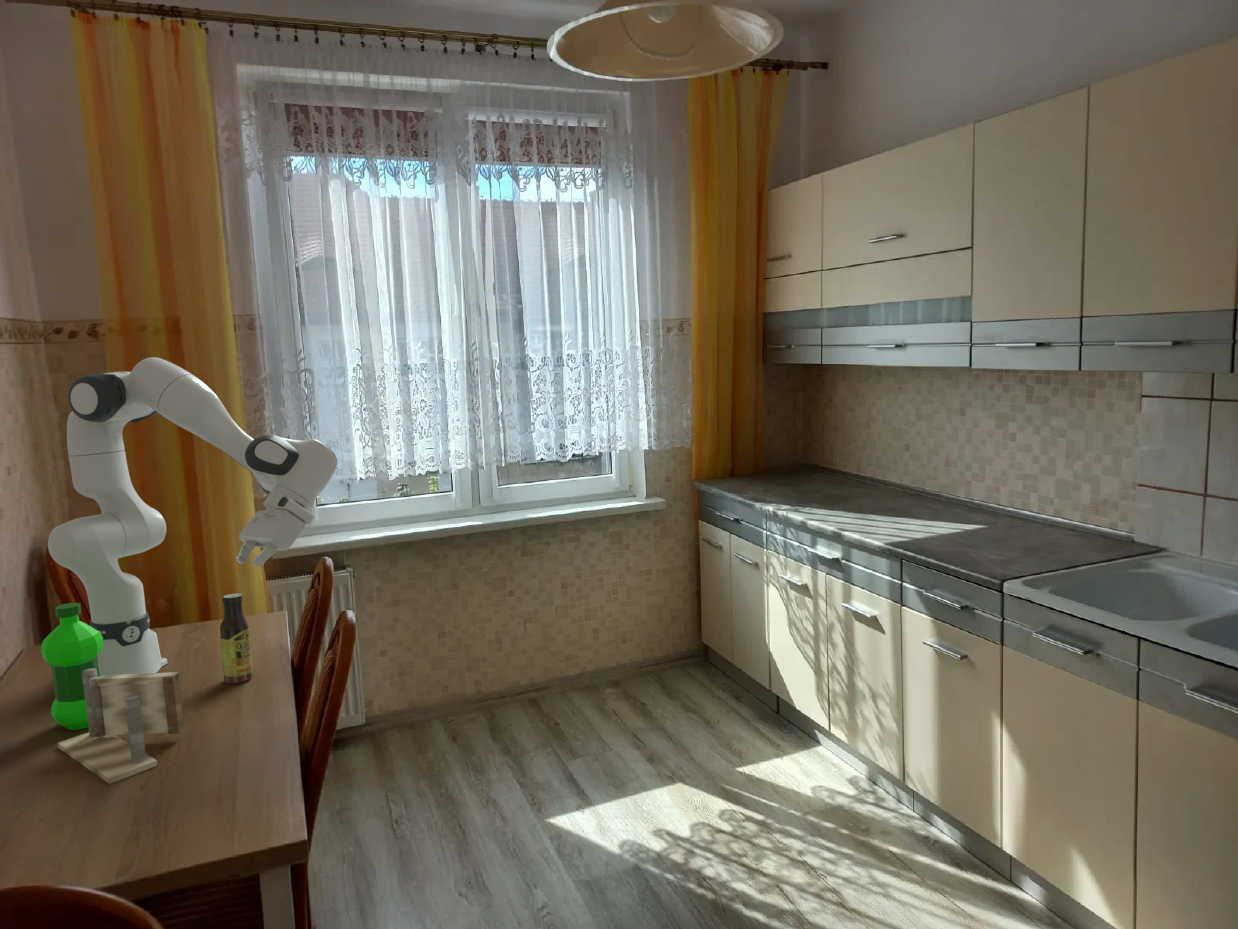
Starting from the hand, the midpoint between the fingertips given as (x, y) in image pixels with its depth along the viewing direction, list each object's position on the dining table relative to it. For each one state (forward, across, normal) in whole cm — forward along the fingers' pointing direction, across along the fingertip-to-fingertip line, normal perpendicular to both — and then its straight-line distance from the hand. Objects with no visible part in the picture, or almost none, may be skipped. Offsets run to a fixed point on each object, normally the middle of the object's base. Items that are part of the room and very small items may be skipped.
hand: (247, 563), depth 174 cm
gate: (+37, -3, +2) cm, 37 cm away
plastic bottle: (+41, -21, -2) cm, 46 cm away
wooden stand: (+42, -1, -1) cm, 43 cm away
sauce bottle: (+20, -21, +21) cm, 36 cm away
